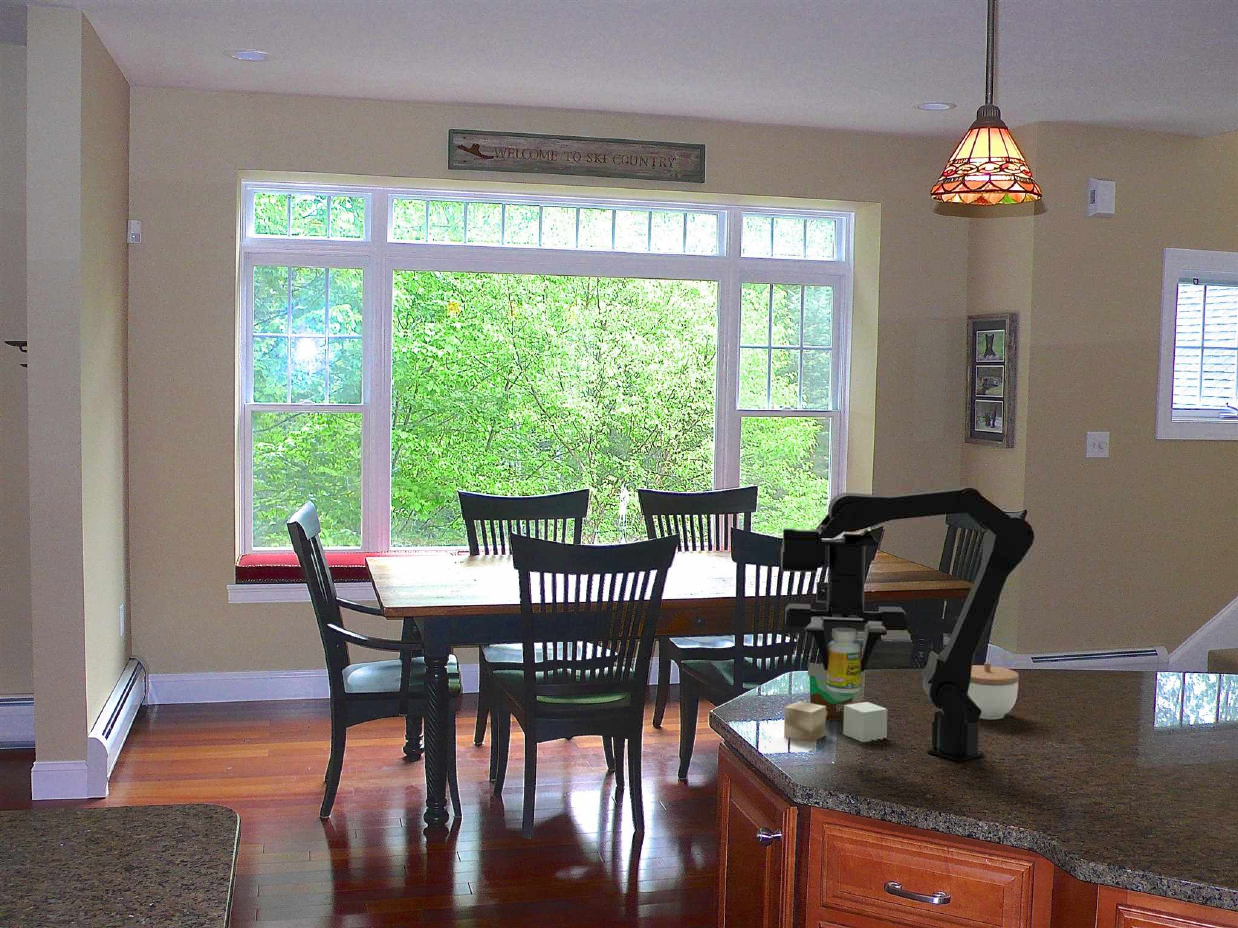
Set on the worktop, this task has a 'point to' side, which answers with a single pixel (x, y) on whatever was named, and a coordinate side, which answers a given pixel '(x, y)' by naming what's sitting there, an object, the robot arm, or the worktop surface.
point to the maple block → (805, 721)
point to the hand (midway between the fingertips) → (844, 670)
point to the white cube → (865, 721)
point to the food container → (826, 693)
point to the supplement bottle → (844, 661)
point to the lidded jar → (993, 690)
